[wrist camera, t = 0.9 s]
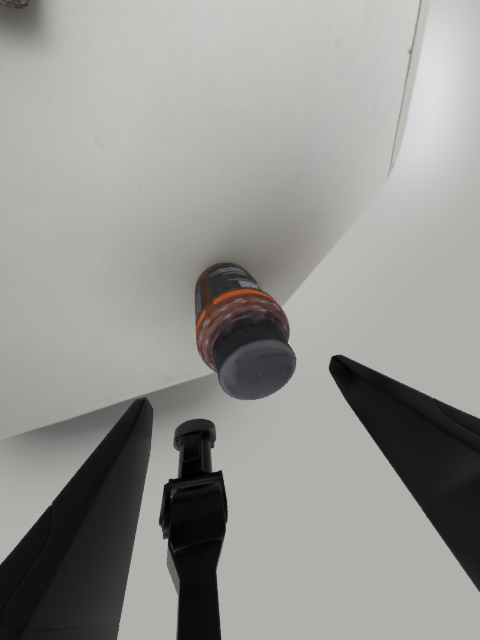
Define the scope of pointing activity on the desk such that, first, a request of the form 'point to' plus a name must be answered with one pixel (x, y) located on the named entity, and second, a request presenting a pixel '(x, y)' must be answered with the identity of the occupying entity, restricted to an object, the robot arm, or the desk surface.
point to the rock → (15, 3)
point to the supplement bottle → (242, 333)
